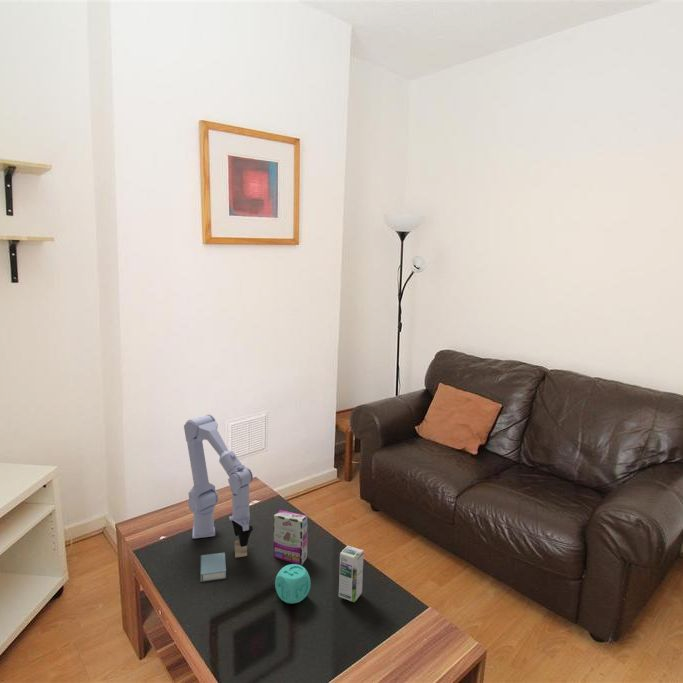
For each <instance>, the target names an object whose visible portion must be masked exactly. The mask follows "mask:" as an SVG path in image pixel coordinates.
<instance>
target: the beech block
mask: <svg viewBox="0 0 683 683" xmlns="http://www.w3.org/2000/svg"><path fill="white" fill-rule="evenodd" d="M247 556H248V545H247V546H244V547H241V546H240V542H239V539H238V540H234V557H235V558H241V557H247Z"/></svg>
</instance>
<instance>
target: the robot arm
mask: <svg viewBox="0 0 683 683" xmlns="http://www.w3.org/2000/svg"><path fill="white" fill-rule="evenodd" d="M183 430H184V435H185V441H186V443H187V450H188V456H189V462H190V468H191V475H192V481H193V482H192V483H193V486H192V487H191V489H190V490H189V492H188V493H187V494H188V503H187V507H188V508H189V510H190V512H192V513H193V525H192V539H200V538H208V537H209V538H210V537H215V536H216V526H215V521H214V520H215V517H214V514H215V511H214V510H215V508H216V505H217V504H218V503H219V494H218V492H217V490H216V485H214V484H213V483H210V482H209V474H208V469H207V462H206V461H207V460H206V456H205V449H204V444H203V441H204V440H205V441H207V442H208V443H209V444H210V445H211V447H212V448H213V450H214V451H215V453H216V454H217V455H218V456H219V459H218V460H219V462H218V463H219V464H220V465H221V466H222V468H223V469H224V471H225V473H226V475H227V476H228V477H229V478H228V479H227V481H228V485H229V487H230V492H231V495H232V497H231V499H232V501H231V502H232V503H231V504H232V506H231V507H232V508H231V509H232V514H231V515H229V516H228V519H229V521H231V523H232V524H231V525H232V526H233V531H234V535H235V537H238V540H239V542H240V546H241V547H244V546H247V547H248V543H249V538H250V536H251V533H252V531H253V530H254V527H253V525H250V523H249V522H250V518H251V514H250V484H251V483H252V482H253V473H252V470H251V469H250V468H249V467H247V466H245V465H244V464H242V462H241V461H240V460H239V457H238V456H237V455H236V454H235V452H234V451H233V450H229V449H228V447H227V445H226V443H225V442H224V440H223V437H222V436H221V434H220V432H219V430H218V422H217V421H216V419H215V417H214V415H212V414H211V413H209V414H206V415H203V416H199V417H196V418H191V419H188V420H187V421H186V422H185V424H184V425H183Z"/></svg>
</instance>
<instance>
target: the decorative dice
mask: <svg viewBox="0 0 683 683" xmlns="http://www.w3.org/2000/svg"><path fill="white" fill-rule="evenodd" d="M310 576H311V575H310V574H309V572H308V570H307V569H306V568H305V567H304V566H303V565H298V564H295V563H292V564H287V565H285V566H283V567H282V568H280V570H279V571H278V573H277V575H276V577H275V581H274V587H275V591H276V594H277V596H278V598H279V599H280V600H281V601H282V602H284V603H286V604H297V603H300V602H301V601H303V600H304V599H306V597H307V596H308V595H309V593H310V589H311V582H312V581H311V577H310Z"/></svg>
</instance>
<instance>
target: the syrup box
mask: <svg viewBox="0 0 683 683" xmlns="http://www.w3.org/2000/svg"><path fill="white" fill-rule="evenodd" d="M363 571H364V549H361V548H360V549H359V548H357V547H354V546H350V545H346V546H345V548H344V549H342V551H341V552H339V578H338V580H339V581H338V583H339V584H338V597H339V598H341V599H344V600H348V601H349V602H353V603H355V602H356V601H357V600H358V598H359V597H360V596H361V594H362V593H363V580H364V578H363V574H364V572H363Z"/></svg>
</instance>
